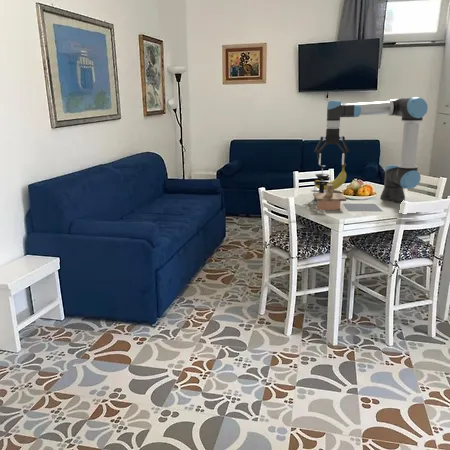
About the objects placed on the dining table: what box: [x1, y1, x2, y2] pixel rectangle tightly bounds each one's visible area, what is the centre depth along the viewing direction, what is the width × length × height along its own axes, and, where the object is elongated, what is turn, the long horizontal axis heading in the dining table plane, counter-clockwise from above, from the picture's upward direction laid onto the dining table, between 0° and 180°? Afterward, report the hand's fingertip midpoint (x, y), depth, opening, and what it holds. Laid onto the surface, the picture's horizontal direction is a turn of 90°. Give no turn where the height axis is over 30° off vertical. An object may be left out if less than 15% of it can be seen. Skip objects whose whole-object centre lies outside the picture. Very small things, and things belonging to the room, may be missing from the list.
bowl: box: [316, 201, 342, 211], centre depth 271 cm, size 13×13×6 cm
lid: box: [312, 184, 347, 202], centre depth 269 cm, size 17×17×8 cm
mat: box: [342, 203, 383, 212], centre depth 270 cm, size 20×20×1 cm
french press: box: [313, 165, 332, 202], centre depth 291 cm, size 12×9×23 cm
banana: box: [313, 162, 347, 191], centre depth 323 cm, size 23×6×20 cm, turn 78°
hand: (331, 164), depth 265 cm, fingers open, 13 cm apart
